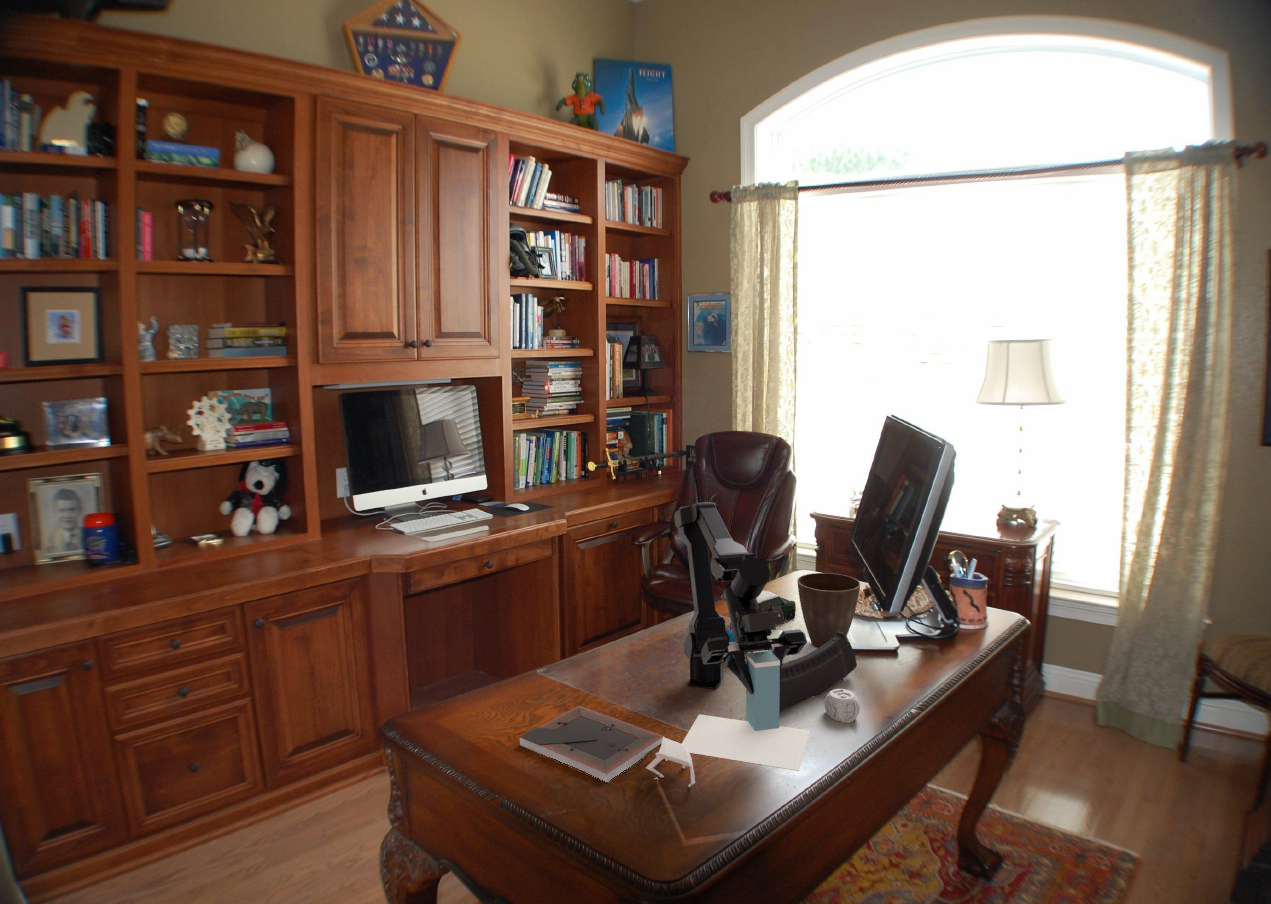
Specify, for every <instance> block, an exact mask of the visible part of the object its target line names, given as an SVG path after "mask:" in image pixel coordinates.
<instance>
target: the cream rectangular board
mask: <svg viewBox="0 0 1271 904" xmlns="http://www.w3.org/2000/svg"><path fill="white" fill-rule="evenodd" d="M810 733H811V730H810V729H804V728H803V729H802V728H794V727H787V726H784V725H783V726H782V725H779V728H776V729H768V730H760V731H755V730H754V729H753V728H752V726H751V725H750V724H749V722H748V721H747V720H742V719H741V720H740V719H733V718H725V717H720V716H714V715H707V714H706V715H705V714H700V713H699V714H698V716H697V717H696V718H695V721H694V722H693V724H692V725H691V727H690V729H689V730H688V732H687V734H686V736H685V737H684V738H683V741H682V743H681V744H684V745H685V747H686V749H687V750H688V752H689V753H690V754H693V755H694V754H695V755H700V756H707V757H712V758H719V759H725V760H731V761H737V762H744V763H749V764H755V765H763V766H768V767H775V768H780V769H787V770H792V771H800V769H801V765H802V761H803V757H804V754H805V751H806V748H807V745H808V742H809V741H808V740H809V738H810Z"/></svg>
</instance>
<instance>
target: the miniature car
mask: <svg viewBox="0 0 1271 904" xmlns="http://www.w3.org/2000/svg"><path fill="white" fill-rule="evenodd" d="M757 602H758V606H759V608H762V610H763V613H764V612H768V610H769V608H771V607H778V606H781V609H782V612H783V616H784V619H787V620H788V621H792V620H794V619H795V618H796V612H797V605H796V601H794V600H789V599H786V598H784V597H781V596H780V595H779V594H777V593H774V592H772V591H768V590H762V592H761V594H760V595H759V596H758V597H757Z"/></svg>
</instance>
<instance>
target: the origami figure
mask: <svg viewBox="0 0 1271 904" xmlns="http://www.w3.org/2000/svg"><path fill="white" fill-rule="evenodd" d="M660 745H661V746H660V747H659V751H658V752H655V756H656V757H655V758H654V759H653V760H652V761H651V762H650V763H649V764H648V765H647V766H646V767H645V769H647V770H648V771H650V772H652V773H654V774H656V775H657V776H656V777H655V778H654V779H658V780H657V781H659V778H664V777H665V776H664V775H663V774H662V773H661V772H659V771H658V770H656V769H655V767H656V766H657V765H658V764H659V763H660V762H661V761H662V760H665V762H668V761H671V762H673V763H677V764H681V765H682V769H684V770H686V769H685V768H686V766H687V767H689V769H690V783H688V786H687V787H688V788H691V787H692V786H693V785H695V783H696V776H695V771H694V764H693V760H692V756H691V753H689V752H688V750H687V749H686V747H685V745H684V744H682V743H680V742H677V741H674V740H672V739H669V738H668V737H667V738H666V736H664V737H663V739H662V743H661V744H660ZM658 777H659V778H658Z"/></svg>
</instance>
